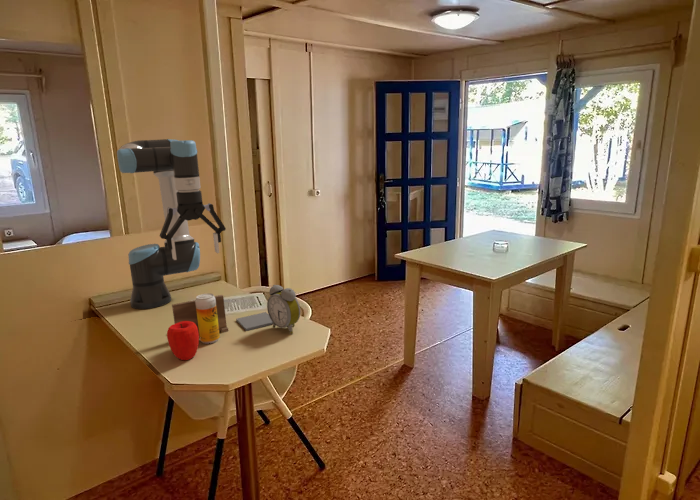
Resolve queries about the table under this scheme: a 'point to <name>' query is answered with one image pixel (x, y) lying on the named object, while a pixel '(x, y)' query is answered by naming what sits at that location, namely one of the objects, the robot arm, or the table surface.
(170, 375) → the table surface
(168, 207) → the robot arm
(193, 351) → the apple
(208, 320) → the yellow pill bottle
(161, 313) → the table surface
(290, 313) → the alarm clock
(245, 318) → the coaster
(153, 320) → the table surface
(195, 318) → the screen
